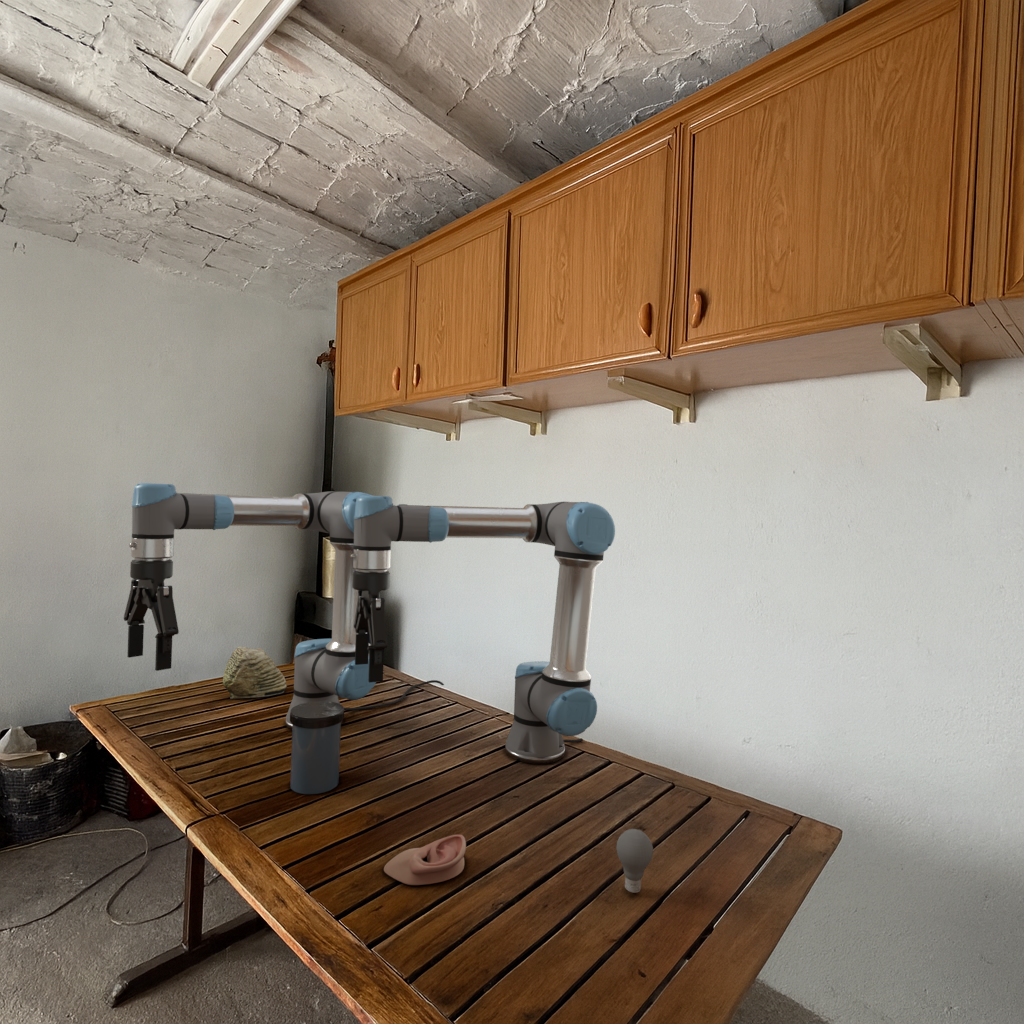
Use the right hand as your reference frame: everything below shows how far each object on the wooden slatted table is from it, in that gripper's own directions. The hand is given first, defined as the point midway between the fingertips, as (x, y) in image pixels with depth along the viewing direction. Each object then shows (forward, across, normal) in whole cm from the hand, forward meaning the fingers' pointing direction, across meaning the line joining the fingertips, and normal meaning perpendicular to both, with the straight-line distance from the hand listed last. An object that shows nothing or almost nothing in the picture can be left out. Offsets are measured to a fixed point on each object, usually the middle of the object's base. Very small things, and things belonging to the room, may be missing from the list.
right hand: (368, 672), depth 131 cm
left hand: (-1, -17, -41) cm, 45 cm away
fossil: (+27, -81, -17) cm, 87 cm away
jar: (+27, -13, -8) cm, 31 cm away
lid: (+11, -13, -8) cm, 19 cm away
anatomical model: (+28, +26, +5) cm, 39 cm away
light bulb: (+28, +45, +35) cm, 64 cm away
